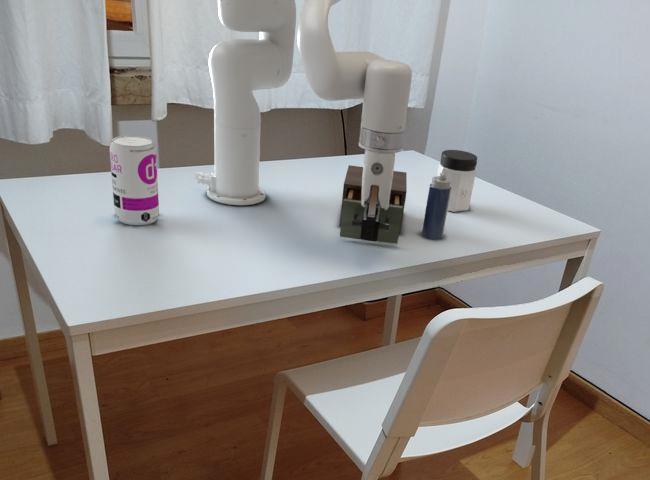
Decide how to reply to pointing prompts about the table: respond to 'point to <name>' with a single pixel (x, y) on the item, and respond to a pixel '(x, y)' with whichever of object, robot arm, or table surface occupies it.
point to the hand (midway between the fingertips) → (368, 238)
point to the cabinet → (355, 182)
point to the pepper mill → (437, 207)
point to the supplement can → (134, 180)
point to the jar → (459, 177)
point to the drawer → (355, 213)
